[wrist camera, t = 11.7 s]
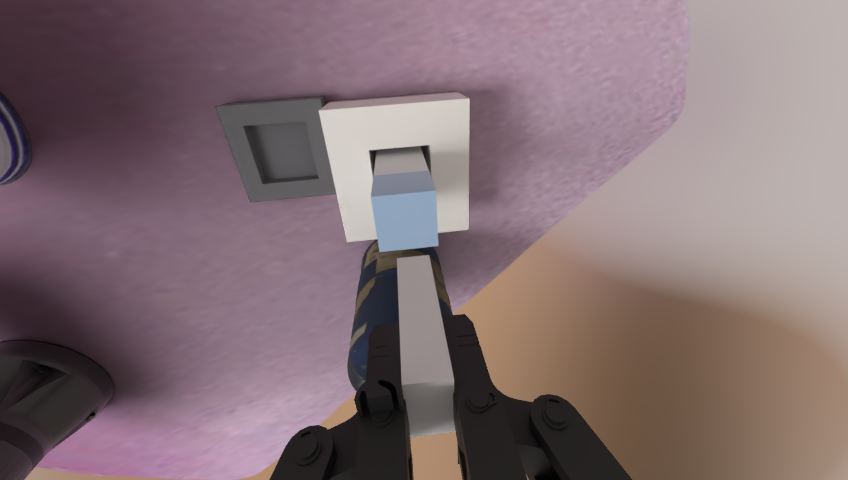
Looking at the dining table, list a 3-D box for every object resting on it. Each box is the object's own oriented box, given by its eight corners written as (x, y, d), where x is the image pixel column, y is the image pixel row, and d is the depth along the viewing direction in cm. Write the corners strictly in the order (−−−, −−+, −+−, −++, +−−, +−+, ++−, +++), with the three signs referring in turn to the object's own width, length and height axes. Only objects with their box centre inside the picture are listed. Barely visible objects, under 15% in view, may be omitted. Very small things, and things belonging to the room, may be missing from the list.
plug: (382, 181, 34) (379, 252, 21) (377, 142, 31) (370, 196, 19) (420, 178, 34) (438, 246, 22) (417, 139, 32) (435, 190, 20)
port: (352, 215, 36) (346, 242, 31) (330, 101, 30) (318, 110, 25) (457, 205, 37) (468, 229, 32) (455, 91, 31) (469, 98, 26)
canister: (417, 299, 43) (433, 435, 28) (350, 277, 40) (326, 415, 25) (451, 243, 39) (492, 365, 24) (379, 215, 36) (372, 332, 21)
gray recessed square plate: (257, 194, 34) (250, 202, 32) (225, 103, 29) (215, 106, 28) (342, 186, 34) (340, 193, 33) (324, 96, 30) (320, 98, 28)
